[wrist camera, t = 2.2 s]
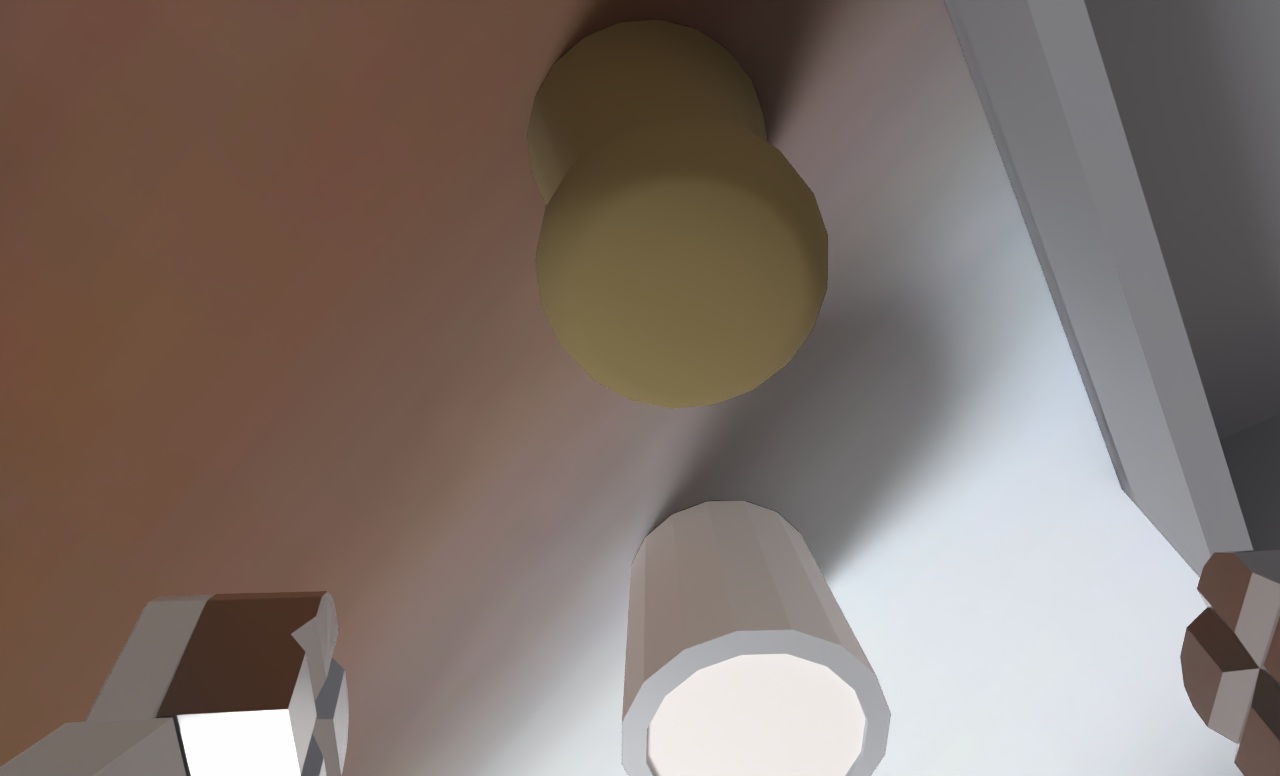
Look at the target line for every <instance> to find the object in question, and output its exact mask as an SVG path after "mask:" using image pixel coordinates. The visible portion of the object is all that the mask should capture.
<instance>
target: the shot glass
mask: <svg viewBox="0 0 1280 776" xmlns="http://www.w3.org/2000/svg"><path fill="white" fill-rule="evenodd" d="M890 717H891V713H890V710H889V707H888V705H887V702H886V700H885V697H884V695H883V692H882V689H881V687H880V684H879V682H878V679H877V676H876V674H875V672H874V671H873V669H872V667H871V665H870V663H869V661H868V659H867V657H866V655H865V654H864V652H863V650H862V648H861V646H860V644H859V642H858V640H857V639H856V637H855V635H854V633H853V631H852V629H851V627H850V625H849V624H848V622H847V620H846V618H845V616H844V614H843V612H842V610H841V609H840V607H839V605H838V603H837V601H836V599H835V597H834V595H833V594H832V592H831V590H830V588H829V586H828V584H827V582H826V580H825V579H824V577H823V575H822V573H821V571H820V569H819V567H818V565H817V564H816V562H815V560H814V558H813V556H812V554H811V552H810V550H809V548H808V547H807V545H806V543H805V541H804V539H803V537H802V535H801V534H800V533H799V532H798V531H797V530H796V529H795V528H794V527H793V526H792V525H790V524H789V523H788V522H787V521H786V520H785V519H784V518H783V517H782V516H781V515H779V514H778V513H777V512H775V511H772V510H769V509H766V508H763V507H761V506H758V505H755V504H752V503H749V502H746V501H707V502H704V503H701V504H699V505H696V506H693V507H691V508H688V509H685V510H682V511H680V512H677V513H674V514H672V515H671V516H670V517H668V518H667V519H666V520H665V521H664V522H663V523H661V524H660V525H659V526H658V527H657V528H656V529H654V530H653V531H652V532H651V533H650V534H649V535H647V536H646V537H645V539H644V541H643V543H642V545H641V547H640V549H639V551H638V553H637V555H636V557H635V559H634V561H633V563H632V565H631V577H630V595H629V612H628V629H627V646H626V663H625V680H624V697H623V715H622V765H623V767H624V769H625V771H626V773H627V774H628V776H871V775H872V773H873V772H874V770H875V769H876V767H877V766H878V764H879V763H880V761H881V760H882V758H883V757H884V755H885V751H886V745H887V738H888V731H889V724H890Z"/></svg>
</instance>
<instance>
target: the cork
mask: <svg viewBox="0 0 1280 776" xmlns="http://www.w3.org/2000/svg"><path fill="white" fill-rule="evenodd" d="M527 138H528V147H529V156H530V165H531V172H532V174H533V177H534V179H535V181H536V183H537V186H538V188H539V190H540V193H541V195H542V197H543V199H544V202H545V204H546V210H545V214H544V219H543V223H542V228H541V232H540V237H539V241H538V246H537V251H536V259H535V260H536V269H537V278H538V287H539V296H540V304H541V306H542V308H543V310H544V312H545V314H546V316H547V318H548V321H549V323H550V325H551V327H552V329H553V331H554V333H555V335H556V337H557V339H558V342H559V343H560V345H561V346H562V347H563V349H564V350H565V351H566V352H567V353H568V354H569V355H570V356H571V357H572V359H573V360H574V361H575V362H576V363H577V364H578V365H579V366H580V367H581V368H582V369H583V370H584V371H585V372H586V373H587V374H588V375H589V376H590V377H591V378H592V379H593V380H594V381H596V382H597V383H599V384H601V385H603V386H605V387H607V388H609V389H610V390H612V391H614V392H616V393H618V394H620V395H622V396H624V397H625V398H627V399H629V400H632V401H637V402H642V403H647V404H652V405H657V406H662V407H667V408H683V407H694V406H705V405H715V404H717V403H720V402H723V401H725V400H728V399H730V398H733V397H736V396H738V395H741V394H743V393H746V392H749V391H751V390H754V389H755V388H757V387H758V386H759V385H761V384H762V383H763V382H764V381H766V380H767V379H768V378H770V377H771V376H772V375H774V374H775V373H776V372H778V371H779V370H780V369H782V368H783V367H784V366H786V365H787V364H788V363H789V362H790V360H791V359H792V358H793V356H794V355H795V354H796V352H797V351H798V349H799V348H800V347H801V345H802V344H803V343H804V341H805V340H806V339H807V337H808V336H809V334H810V333H811V332H812V330H813V329H814V326H815V323H816V320H817V317H818V314H819V311H820V308H821V305H822V302H823V299H824V296H825V293H826V290H827V280H828V234H827V231H826V228H825V225H824V222H823V220H822V217H821V214H820V211H819V208H818V205H817V202H816V199H815V196H814V193H813V192H812V191H811V190H810V188H809V187H808V186H807V184H806V183H805V182H804V181H803V179H802V178H801V177H800V176H799V174H798V173H797V172H796V170H795V169H794V168H793V167H792V165H791V164H790V163H789V162H788V160H787V159H786V158H785V157H784V155H783V154H782V153H781V152H780V150H778V149H777V148H775V147H773V146H772V145H770V144H769V143H768V141H767V134H766V127H765V121H764V115H763V112H762V109H761V106H760V103H759V100H758V97H757V95H756V92H755V89H754V86H753V83H752V80H751V79H750V77H749V76H748V75H747V74H746V72H745V71H744V70H743V68H742V67H741V66H740V65H739V63H738V62H737V61H736V59H735V58H734V57H733V56H732V54H731V53H730V52H729V50H728V49H726V48H725V47H723V46H721V45H720V44H718V43H717V42H715V41H714V40H712V39H711V38H709V37H708V36H706V35H705V34H703V33H702V32H700V31H699V30H697V29H695V28H691V27H687V26H683V25H679V24H675V23H672V22H668V21H664V20H660V19H654V20H642V21H629V22H619V23H617V24H614V25H612V26H610V27H607V28H605V29H603V30H600V31H598V32H596V33H593V34H591V35H589V36H586V37H584V38H583V39H581V40H580V41H579V42H578V43H577V44H576V45H575V46H574V47H572V48H571V49H570V50H569V51H568V52H567V53H566V54H565V55H563V56H562V57H561V58H560V59H559V60H558V61H557V62H556V63H554V65H553V67H552V68H551V70H550V72H549V74H548V75H547V77H546V79H545V81H544V82H543V84H542V86H541V87H540V89H539V91H538V93H537V94H536V96H535V99H534V104H533V109H532V113H531V118H530V123H529V128H528V133H527Z"/></svg>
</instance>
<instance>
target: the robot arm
mask: <svg viewBox="0 0 1280 776" xmlns="http://www.w3.org/2000/svg"><path fill="white" fill-rule="evenodd" d="M1197 590H1198V592H1199V593H1200V595H1201V597H1202V598H1203V600H1204V602H1205V604H1206V605H1207V608H1206V609H1205V610H1204V611H1203V612H1202V613H1201V614H1200V615H1199V616H1198V617H1197V618H1196V619H1195V620H1194V621H1193V622H1192V623H1191V624H1190V625H1189V626H1188V627H1187V629H1186V633H1185V638H1184V642H1183V647H1182V652H1181V656H1180V657H1181V665H1182V673H1183V681H1184V686H1185V689H1186V691H1187V694H1188V696H1189V698H1190V701H1191V703H1192V705H1193V707H1194V709H1195V710H1196V712H1197V713H1198V714H1199V716H1200V717H1201V718H1202V720H1203V721H1204V723H1205V724H1206V725H1207V727H1209V728H1211V729H1212V730H1214V731H1216V732H1217V733H1219V734H1221V735H1223V736H1224V737H1226V738H1228V739H1230V740H1231V741H1233V742H1235V743H1237V748H1236V755H1235V761H1234V763H1235V764H1236V765H1237V767H1238V768H1239V769H1240V771H1241V772H1242V773H1243V775H1244V776H1280V549H1268V550H1250V551H1232V552H1214V553H1213V555H1212V556H1211V557H1210V559H1209V560H1208V561H1207V563H1206V564H1205V565H1204V566H1203V570H1202V573H1201V577H1200V580H1199V584H1198V587H1197ZM338 631H339V628H338V623H337V617H336V611H335V606H334V600H333V598H332V597H331V595H330V594H329V593H328V591H321V592H280V593H239V594H216V595H215V596H213V595H210V594H204V595H182V596H160V597H157V598H155V599H154V600H152V601H150V602H149V603H148V604H147V605H146V606H145V608H144V610H143V612H142V613H141V615H140V617H139V619H138V621H137V623H136V625H135V627H134V629H133V630H132V632H131V634H130V636H129V638H128V640H127V642H126V644H125V646H124V647H123V649H122V651H121V653H120V655H119V657H118V659H117V661H116V663H115V664H114V666H113V668H112V670H111V672H110V674H109V676H108V678H107V680H106V681H105V683H104V685H103V687H102V689H101V691H100V693H99V695H98V697H97V698H96V700H95V702H94V704H93V706H92V708H91V710H90V712H89V714H88V715H87V717H86V719H85V721H84V722H76V723H65V724H64V725H62V726H61V727H59V728H58V729H56V730H55V731H53V732H52V733H50V734H49V735H47V736H46V737H44V738H43V739H41V740H40V741H38V742H37V743H35V744H34V745H33V746H31V747H30V748H28V749H27V750H25V751H24V752H22V753H21V754H19V755H18V756H16V757H15V758H13V759H12V760H10V761H9V762H7V763H6V764H4V765H3V766H1V767H0V776H341V775H342V770H343V765H344V760H345V755H346V749H347V735H348V721H349V712H348V691H347V684H346V676H345V670H344V669H343V668H342V667H341V666H340V665H339V664H338V663H337V662H336V661H335V660H334V659H333V658H332V655H333V651H334V647H335V643H336V639H337V635H338Z"/></svg>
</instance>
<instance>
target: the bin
mask: <svg viewBox="0 0 1280 776" xmlns="http://www.w3.org/2000/svg"><path fill="white" fill-rule="evenodd" d="M945 3H946V6H947V9H948V11H949V14H950V17H951V20H952V23H953V25H954V28H955V31H956V34H957V36H958V39H959V42H960V45H961V47H962V50H963V53H964V56H965V58H966V61H967V64H968V67H969V69H970V72H971V75H972V78H973V80H974V83H975V86H976V89H977V91H978V94H979V97H980V100H981V102H982V105H983V108H984V111H985V113H986V116H987V119H988V122H989V124H990V127H991V130H992V133H993V135H994V138H995V141H996V144H997V146H998V149H999V152H1000V155H1001V157H1002V160H1003V163H1004V166H1005V168H1006V171H1007V174H1008V177H1009V180H1010V182H1011V185H1012V188H1013V191H1014V193H1015V196H1016V199H1017V202H1018V204H1019V207H1020V210H1021V213H1022V215H1023V218H1024V221H1025V224H1026V226H1027V229H1028V232H1029V235H1030V237H1031V240H1032V243H1033V246H1034V248H1035V251H1036V254H1037V257H1038V259H1039V262H1040V265H1041V268H1042V270H1043V273H1044V276H1045V279H1046V281H1047V284H1048V287H1049V290H1050V292H1051V295H1052V298H1053V301H1054V303H1055V306H1056V309H1057V312H1058V314H1059V317H1060V320H1061V323H1062V325H1063V328H1064V331H1065V334H1066V337H1067V339H1068V342H1069V345H1070V348H1071V350H1072V353H1073V356H1074V359H1075V361H1076V364H1077V367H1078V370H1079V372H1080V375H1081V378H1082V381H1083V383H1084V386H1085V389H1086V392H1087V394H1088V397H1089V400H1090V403H1091V405H1092V408H1093V411H1094V414H1095V416H1096V419H1097V422H1098V425H1099V427H1100V430H1101V433H1102V436H1103V438H1104V441H1105V444H1106V447H1107V449H1108V452H1109V455H1110V458H1111V460H1112V463H1113V466H1114V469H1115V471H1116V474H1117V477H1118V480H1119V482H1120V485H1121V488H1122V490H1123V491H1124V492H1125V493H1126V494H1127V495H1128V497H1129V498H1130V499H1131V500H1132V501H1133V502H1134V503H1135V505H1136V506H1137V507H1138V508H1139V509H1140V510H1141V511H1142V513H1143V514H1144V515H1145V516H1146V517H1147V518H1148V519H1149V520H1150V522H1151V523H1152V524H1153V525H1154V526H1155V527H1156V528H1157V530H1158V531H1159V532H1160V533H1161V534H1162V535H1163V536H1164V538H1165V539H1166V540H1167V541H1168V542H1169V543H1170V544H1171V546H1172V547H1173V548H1174V549H1175V550H1176V551H1177V552H1178V553H1179V555H1180V556H1181V557H1182V558H1183V559H1184V560H1185V561H1186V563H1187V564H1188V565H1189V566H1190V567H1191V568H1192V569H1193V571H1194V572H1195V573H1196V574H1197V575H1198V576H1199V577H1201V573H1202V570H1203V566H1204V565H1205V564H1206V563H1207V561H1208V560H1209V559H1210V557H1211V556H1212V555H1213V553H1214V552H1232V551H1250V550H1268V549H1280V0H945Z"/></svg>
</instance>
